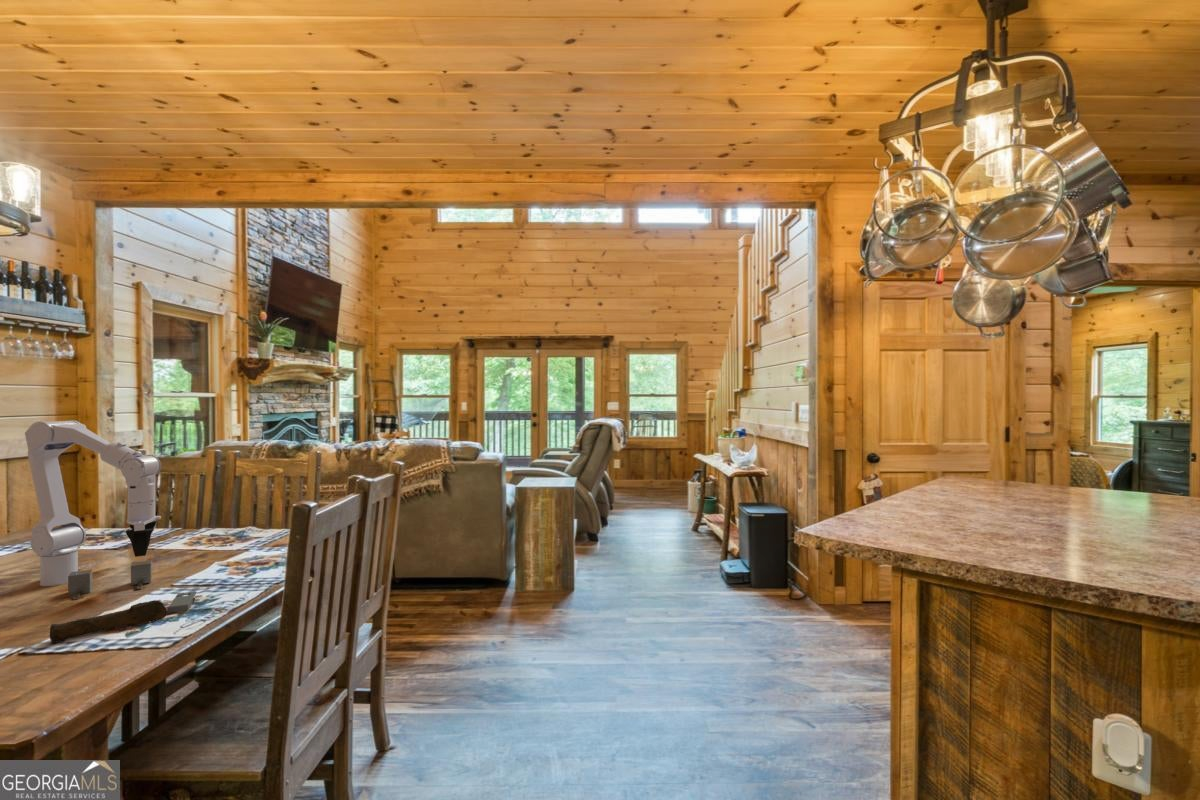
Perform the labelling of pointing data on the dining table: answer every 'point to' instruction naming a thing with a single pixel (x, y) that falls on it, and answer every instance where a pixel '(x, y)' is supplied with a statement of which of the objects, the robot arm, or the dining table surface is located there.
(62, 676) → the dining table surface
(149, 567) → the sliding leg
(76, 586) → the fixed leg
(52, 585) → the robot arm
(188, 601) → the bracket
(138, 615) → the hand tool
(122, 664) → the dining table surface
